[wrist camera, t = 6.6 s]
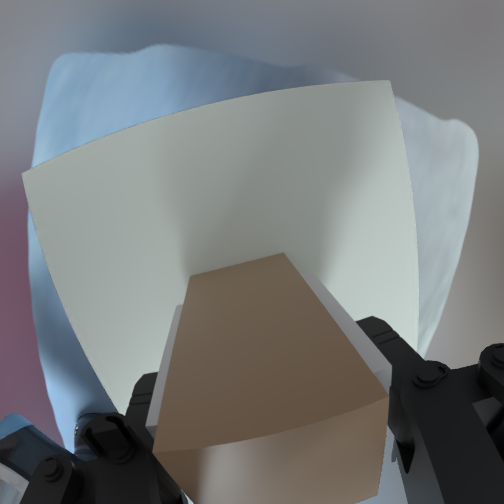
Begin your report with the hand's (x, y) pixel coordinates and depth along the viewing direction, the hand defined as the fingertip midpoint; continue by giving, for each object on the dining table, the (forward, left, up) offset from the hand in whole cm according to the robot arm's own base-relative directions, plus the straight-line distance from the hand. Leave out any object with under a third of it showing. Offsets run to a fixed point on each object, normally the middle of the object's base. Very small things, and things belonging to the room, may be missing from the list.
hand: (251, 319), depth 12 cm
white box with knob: (0, 0, -15) cm, 15 cm away
